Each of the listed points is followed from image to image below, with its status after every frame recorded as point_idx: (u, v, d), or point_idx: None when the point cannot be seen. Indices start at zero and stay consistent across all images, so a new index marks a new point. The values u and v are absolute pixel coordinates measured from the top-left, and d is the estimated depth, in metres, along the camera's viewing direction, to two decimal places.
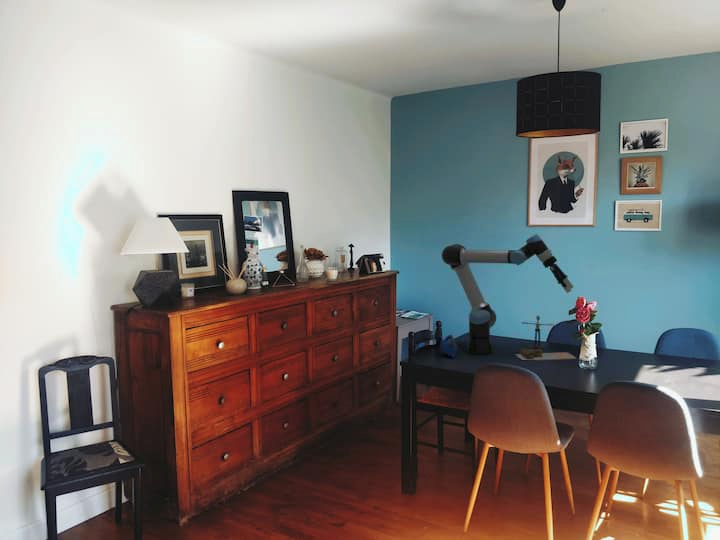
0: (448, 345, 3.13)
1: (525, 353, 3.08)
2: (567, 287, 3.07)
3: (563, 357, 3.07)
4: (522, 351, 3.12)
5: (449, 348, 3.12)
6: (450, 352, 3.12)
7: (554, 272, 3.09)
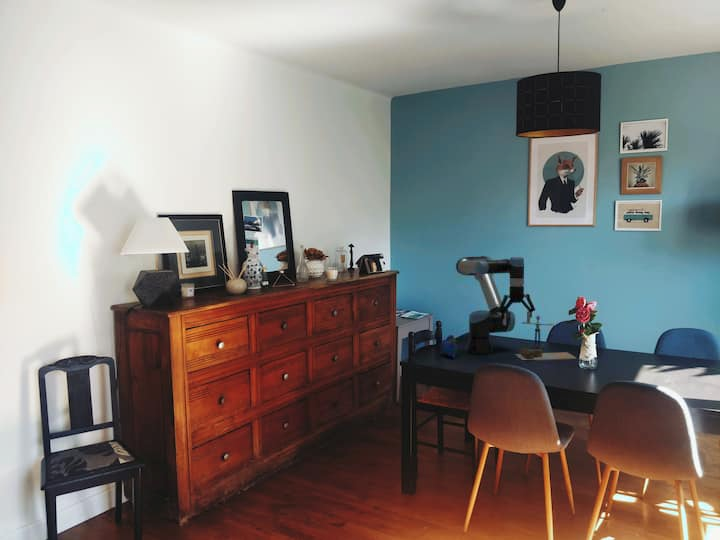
0: (448, 345, 3.12)
1: (525, 353, 3.08)
2: (504, 320, 3.06)
3: (563, 357, 3.07)
4: (522, 351, 3.12)
5: (449, 348, 3.11)
6: (450, 352, 3.12)
7: (503, 301, 3.06)
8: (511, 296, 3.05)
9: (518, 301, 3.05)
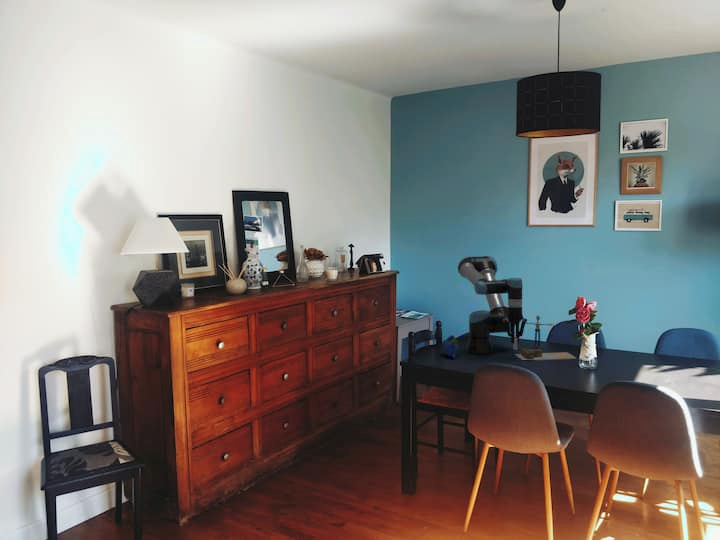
0: (449, 345, 3.12)
1: (525, 353, 3.08)
2: (514, 344, 3.08)
3: (563, 357, 3.07)
4: (522, 351, 3.12)
5: (450, 349, 3.11)
6: (451, 353, 3.11)
7: (506, 325, 3.07)
8: (509, 317, 3.06)
9: (516, 322, 3.06)
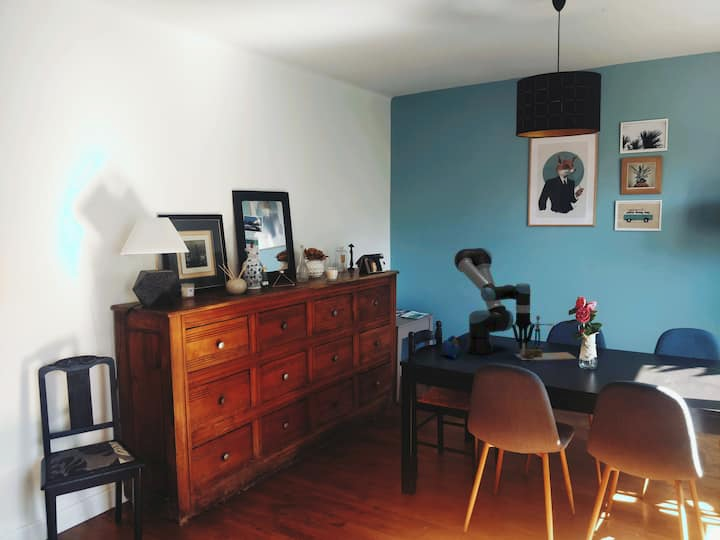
0: (449, 346, 3.11)
1: (525, 353, 3.08)
2: (522, 350, 3.09)
3: (563, 357, 3.07)
4: None
5: (450, 349, 3.10)
6: (451, 353, 3.10)
7: None
8: (517, 322, 3.06)
9: (524, 327, 3.07)
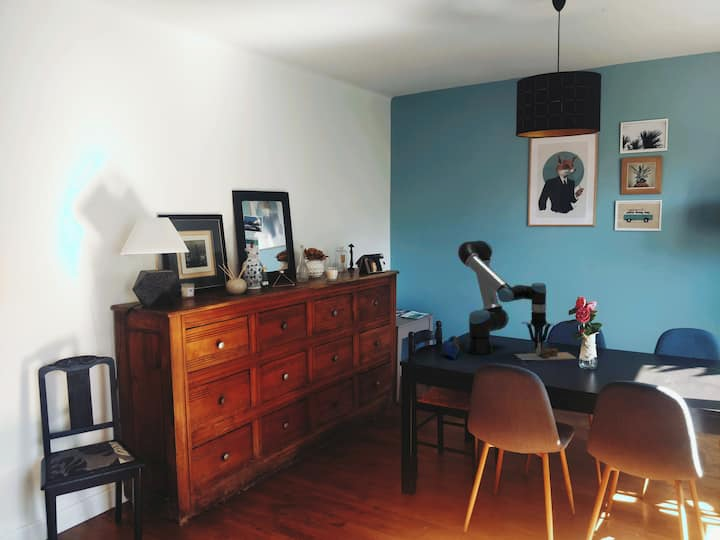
0: (450, 346, 3.10)
1: None
2: (537, 349, 3.09)
3: (563, 357, 3.07)
4: None
5: (450, 349, 3.10)
6: (451, 353, 3.10)
7: (529, 330, 3.09)
8: (533, 322, 3.07)
9: (540, 327, 3.07)
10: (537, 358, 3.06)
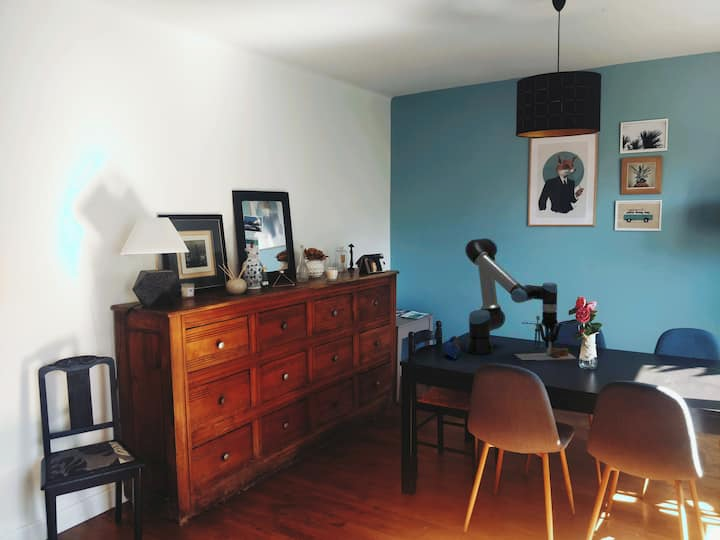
0: (450, 346, 3.10)
1: (551, 352, 3.08)
2: (548, 349, 3.10)
3: (563, 357, 3.07)
4: None
5: (451, 349, 3.09)
6: (452, 353, 3.09)
7: (540, 330, 3.09)
8: (544, 322, 3.07)
9: (551, 326, 3.08)
10: (537, 358, 3.06)
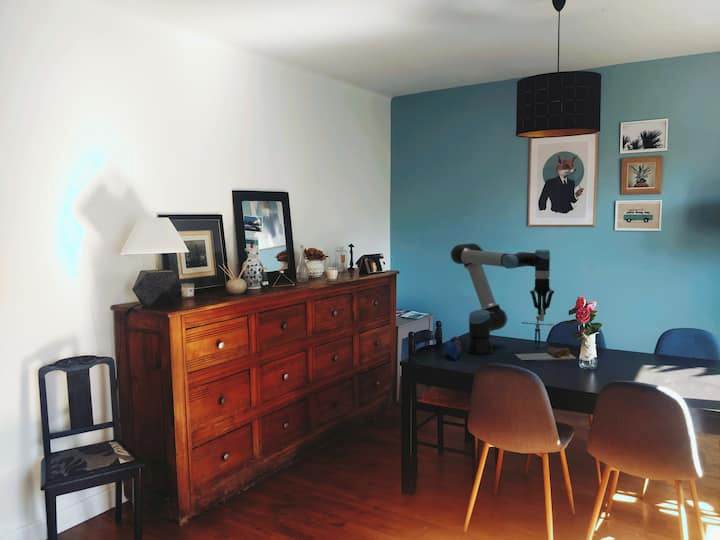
0: (450, 347, 3.09)
1: (552, 352, 3.08)
2: (540, 316, 3.08)
3: (563, 357, 3.07)
4: (549, 350, 3.13)
5: (451, 350, 3.08)
6: (452, 354, 3.09)
7: (532, 297, 3.07)
8: (536, 288, 3.05)
9: (543, 293, 3.06)
10: (537, 358, 3.06)
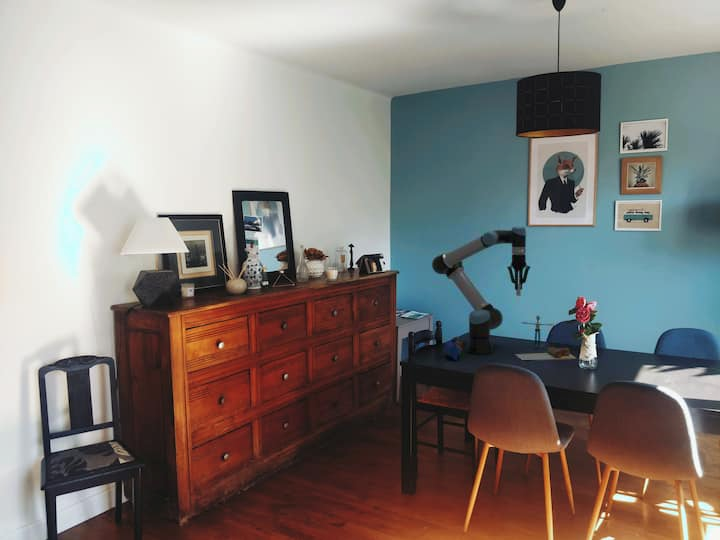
0: (451, 347, 3.08)
1: (552, 352, 3.08)
2: (517, 291, 3.21)
3: (563, 357, 3.07)
4: (549, 350, 3.13)
5: (451, 350, 3.08)
6: (452, 354, 3.08)
7: (509, 272, 3.20)
8: (513, 264, 3.18)
9: (520, 269, 3.19)
10: (537, 358, 3.06)
